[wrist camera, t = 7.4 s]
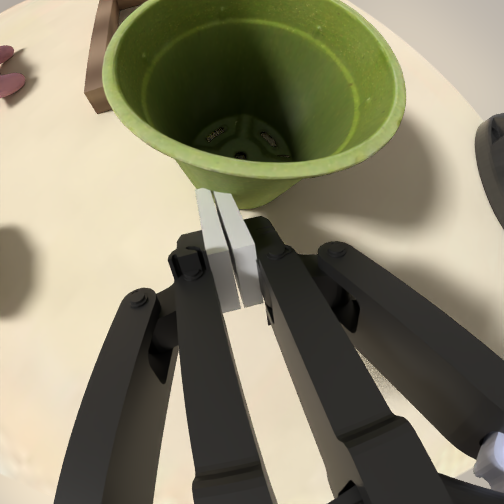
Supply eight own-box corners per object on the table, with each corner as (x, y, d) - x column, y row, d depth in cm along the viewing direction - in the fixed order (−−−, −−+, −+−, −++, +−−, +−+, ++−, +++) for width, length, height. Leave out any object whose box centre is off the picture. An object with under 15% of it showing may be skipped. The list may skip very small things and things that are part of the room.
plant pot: (294, 273, 19) (383, 242, 8) (127, 206, 19) (42, 118, 8) (342, 129, 21) (412, 29, 10) (201, 77, 21) (195, -39, 10)
